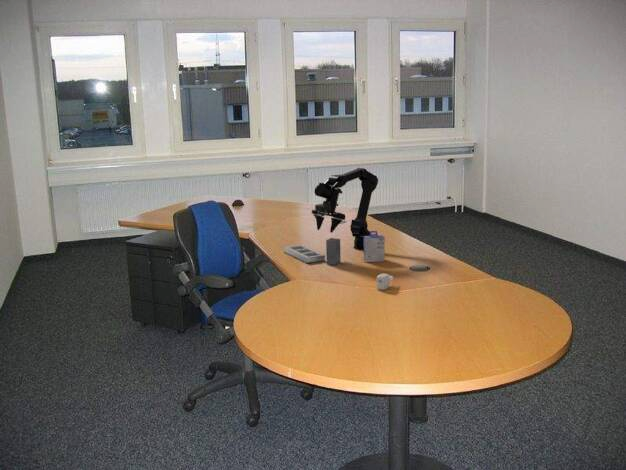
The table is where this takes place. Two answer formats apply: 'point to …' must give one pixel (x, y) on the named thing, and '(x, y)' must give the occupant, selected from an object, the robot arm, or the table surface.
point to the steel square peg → (333, 251)
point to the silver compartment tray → (304, 254)
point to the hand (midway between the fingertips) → (324, 231)
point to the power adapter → (383, 281)
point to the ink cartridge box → (374, 247)
